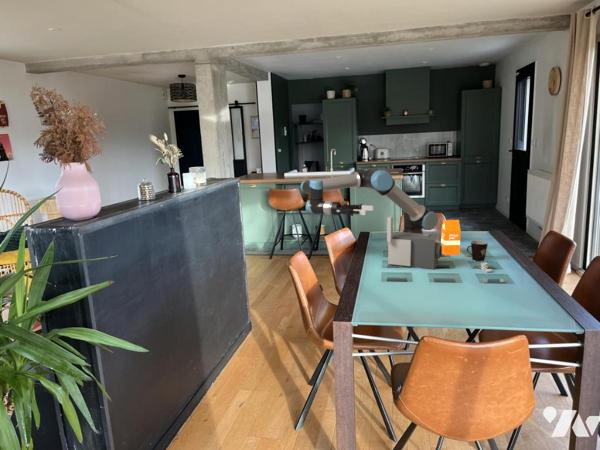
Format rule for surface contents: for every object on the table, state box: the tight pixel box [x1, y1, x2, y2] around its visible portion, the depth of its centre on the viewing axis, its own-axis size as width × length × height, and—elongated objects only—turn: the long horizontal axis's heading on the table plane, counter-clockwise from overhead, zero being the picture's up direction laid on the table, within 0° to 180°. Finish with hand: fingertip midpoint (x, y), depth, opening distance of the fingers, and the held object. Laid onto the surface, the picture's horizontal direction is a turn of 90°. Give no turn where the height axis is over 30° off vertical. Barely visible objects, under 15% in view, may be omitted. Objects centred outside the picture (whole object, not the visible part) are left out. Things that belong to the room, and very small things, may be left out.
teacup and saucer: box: [475, 261, 494, 273], centre depth 234 cm, size 9×8×4 cm
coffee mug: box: [466, 240, 489, 262], centre depth 251 cm, size 12×9×10 cm
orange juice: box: [440, 219, 462, 256], centre depth 265 cm, size 8×9×20 cm
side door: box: [386, 216, 411, 267], centre depth 240 cm, size 4×12×26 cm, turn 64°
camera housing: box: [388, 231, 443, 271], centre depth 246 cm, size 12×26×17 cm, turn 64°
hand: (369, 210), depth 244 cm, fingers open, 13 cm apart
